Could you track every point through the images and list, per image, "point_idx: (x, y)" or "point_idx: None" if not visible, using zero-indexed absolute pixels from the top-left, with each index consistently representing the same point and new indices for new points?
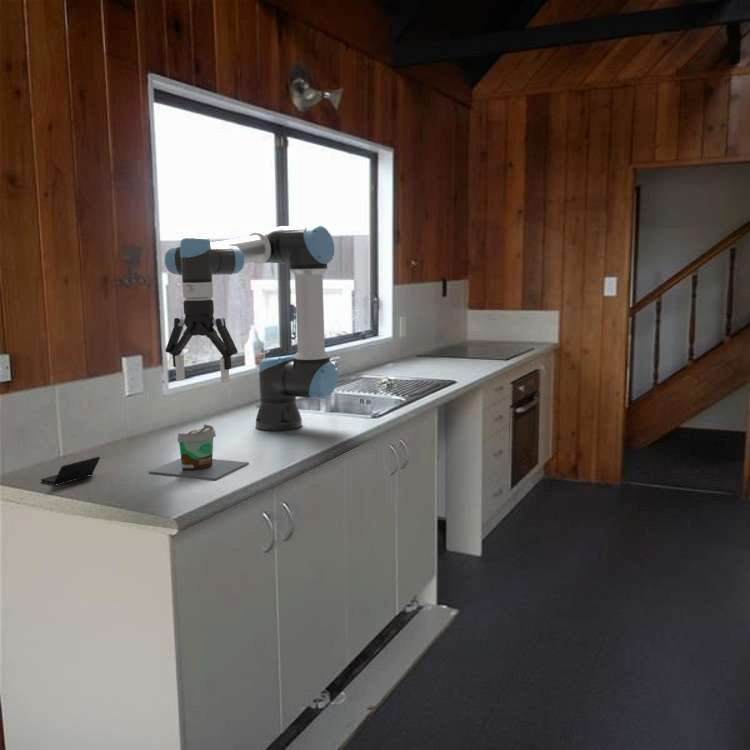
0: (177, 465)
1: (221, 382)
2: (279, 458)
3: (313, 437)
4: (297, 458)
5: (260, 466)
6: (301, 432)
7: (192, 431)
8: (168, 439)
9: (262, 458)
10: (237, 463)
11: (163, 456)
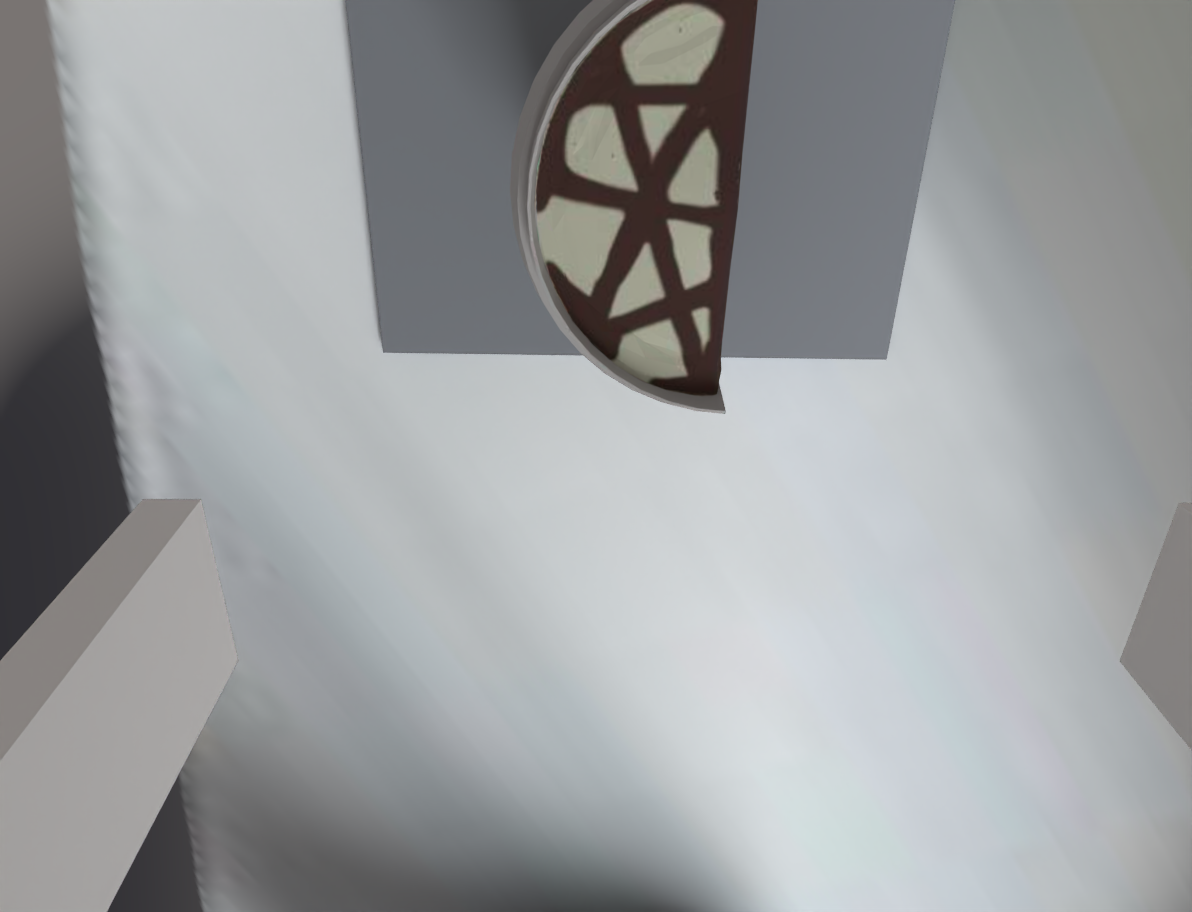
0: (826, 122)
1: (193, 501)
2: (292, 517)
3: (392, 888)
4: None
5: (281, 326)
6: None
7: (723, 190)
8: None
9: (390, 489)
10: (436, 305)
11: (1058, 345)
